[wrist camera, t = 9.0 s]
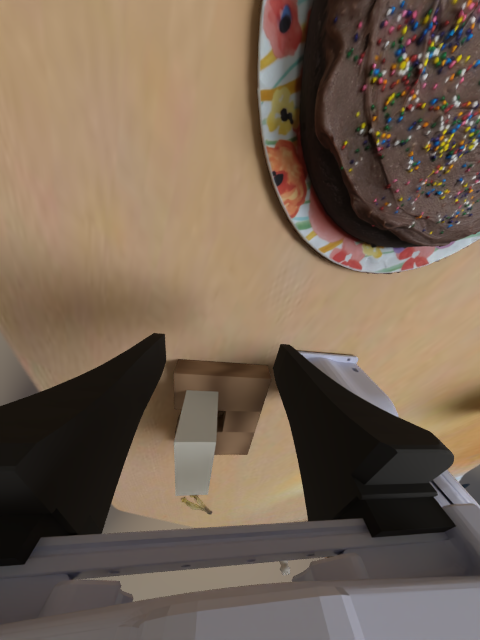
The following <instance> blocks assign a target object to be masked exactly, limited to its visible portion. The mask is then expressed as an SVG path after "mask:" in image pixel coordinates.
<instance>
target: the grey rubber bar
mask: <svg viewBox="0 0 480 640" xmlns="http://www.w3.org/2000/svg"><path fill="white" fill-rule="evenodd" d="M217 412H218V392H213V391H191V390H187V391H186V395H185V399H184V403H183V407H182V411H181V415H180V420H179V424H178V428H177V432H176V436H175V440H174V457H175V489H176V496H182V495H208V490H209V484H210V477H211V471H212V465H213V459H214V452H215V446H216V434H217Z"/></svg>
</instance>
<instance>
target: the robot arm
mask: <svg viewBox="0 0 480 640" xmlns="http://www.w3.org/2000/svg"><path fill="white" fill-rule="evenodd" d="M357 361H358V358H357V357H356V356H351V355H338V354H326V353H314V352H301V351H297V350H296V349H294V348H293V347H292V346H290V345H286V344H280V347H279V351H278V354H277V357H276V360H275V363H274V367H273V371H274V376H275V381H276V384H277V387H278V390H279V393H280V396H281V399H282V402H283V405H284V408H285V411H286V414H287V417H288V420H289V423H290V427H291V432H292V436H293V440H294V444H295V449H296V454H297V458H298V463H299V469H300V474H301V479H302V484H303V491H304V497H305V503H306V509H307V516H308V522H292V523H275V524H258V525H242V526H225V527H208V528H192V529H175V530H158V531H141V532H125V533H108V534H102V531H103V528H104V524H105V521H106V518H107V515H108V512H109V508H110V505H111V502H112V499H113V496H114V493H115V489H116V486H117V484H118V481H119V478H120V475H121V472H122V469H123V466H124V463H125V460H126V457H127V454H128V451H129V449H130V446H131V443H132V440H133V438H134V435H135V432H136V430H137V427H138V424H139V422H140V419H141V417H142V415H143V412H144V410H145V408H146V406H147V404H148V402H149V400H150V398H151V396H152V394H153V392H154V390H155V388H156V386H157V384H158V382H159V380H160V377H161V375H162V372H163V369H164V366H165V363H166V348H165V334H157V333H154V334H152V335H150V336H149V337H147V338H146V339H144V340H143V341H141V342H139V343H138V344H136V345H135V346H133V347H132V348H130V349H128V350H127V351H125V352H124V353H122V354H120V355H118V356H117V357H115V358H113V359H111V360H110V361H108V362H106V363H104V364H103V365H101V366H99V367H97V368H95V369H93V370H91V371H89V372H86V373H84V374H82V375H80V376H78V377H76V378H73V379H71V380H68V381H66V382H64V383H61V384H59V385H57V386H54V387H52V388H49V389H47V390H44V391H42V392H39V393H36V394H34V395H31V396H29V397H26V398H23V399H20V400H17V401H14V402H11V403H9V404H6V405H3V406H0V640H480V506H479V504H478V503H477V502H476V501H475V500H474V499H473V498H472V496H471V495H470V494H469V493H468V492H467V491H466V490H465V489H464V488H463V487H462V485H461V484H460V483H459V482H458V481H457V480H456V479H455V478H454V477H453V476H452V475H451V473H450V472H449V471H448V470H447V469H448V468H449V467H450V466H451V465H452V464H453V462H454V455H453V454H452V452H451V451H450V450H449V449H448V448H447V447H446V446H445V445H444V444H443V443H442V442H441V441H440V440H439V439H438V438H437V437H436V436H434V435H433V434H432V433H431V432H430V431H427V430H425V429H423V428H421V427H419V426H416V425H414V424H412V423H410V422H407V421H405V420H403V419H401V418H399V417H398V414H397V411H396V409H395V406H394V405H393V403H392V401H391V400H390V398H389V397H388V396H387V395H386V394H385V393H384V392H383V391H382V390H381V389H380V388H379V387H378V386H377V385H376V384H375V383H374V382H373V381H372V380H371V378H370V377H369V376H368V375H367V374H366V373H365V372H364V371H363V370H362V369H361V368H360V367H359V366H358V365H357V364H356V363H357ZM331 556H333V557H331ZM320 557H329V558H325V559H321V560H317V561H312V562H311V563H310V566H309V568H307V569H306V570H305V571H303V572H302V573H300V574H298V575H296V576H294V577H293V579H292V582H282V583H271V584H257V585H248V586H240V587H239V586H238V587H229V588H221V589H213V590H205V591H198V592H190V593H184V594H178V595H171V596H165V597H159V598H153V599H147V600H141V601H135V602H133V596H132V594H129V593H126V592H124V591H122V590H121V589H120V588H121V584H120V581H107V580H76V579H87V578H98V577H109V576H120V575H131V574H142V573H153V572H165V571H176V570H186V569H198V568H209V567H220V566H231V565H242V564H253V563H264V562H274V561H286V560H297V559H309V558H320Z"/></svg>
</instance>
